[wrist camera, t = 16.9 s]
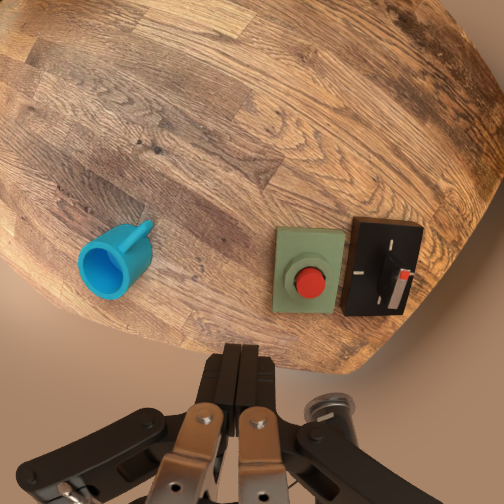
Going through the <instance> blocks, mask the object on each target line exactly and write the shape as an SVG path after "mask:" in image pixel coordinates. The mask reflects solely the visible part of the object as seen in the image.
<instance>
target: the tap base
mask: <svg viewBox="0 0 504 504" xmlns="http://www.w3.org/2000/svg"><path fill="white" fill-rule="evenodd" d="M423 229H424V227H422V226H421V225H419V224H417V223H415V222H411V221H401V220H390V219H379V218H367V217H354V218H353V226H352V234H351V241H350V249H349V255H348V262H347V268H346V274H345V280H344V286H343V292H342V297H341V302H340V308H341V310H342V312H343V315H344V316H387V315H403V313H404V309H405V306H406V302H407V299H408V295H409V292H410V288H411V284H412V280H413V276H414V272H415V268H416V264H417V259H418V255H419V250H420V245H421V240H422V235H423ZM386 255H393V256H396V257H397V258H398V259H399V260H400V261H401V262H402V263H403V264H404V265H405V266H406V267H407V268H408V269H409V270H410V274H409V277H408V280H407V283H406V286H405V289H404V291H403V294H402V297H401V300H400V303H399V306H398V308H397V309H390V308H387V306H386V305H385V303H384V302H383V300H382V299H381V297H380V296H379V294H378V293H377V292H376V288H377V285H378V282H379V278H380V275H381V271H382V268H383V264H384V261H385V257H386Z"/></svg>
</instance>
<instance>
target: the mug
mask: <svg viewBox="0 0 504 504" xmlns="http://www.w3.org/2000/svg"><path fill="white" fill-rule="evenodd" d="M152 228H153V222H152V221H151V220H146V221H145V222H143V223H142V224H141V225H139V226H138V227H135V226H133V225H130V224H122V225H119V226H116V227H114V228H113V229H111V230H109V231H107V232H106V233H104V234H102V235H101V236H99V237H97V238H96V239H94V240H93V241H91V242H89V243H88V244H86V245H85V246H84V247H83V248H82V250H81V252H80V254H79V258H78V268H79V273H80V275H81V278H82V280H83V282H84V283H85V285H86V286H87V287H88V289H89V290H90V291H92V292H93V293H94V294H95V295H97V296H99V297H101V298H103V299H109V300H112V299H118V298H119V297H121V296H122V295H124V294H125V293H126V291H127V290H128V289H129V288H130V287H131V286H132V285H133V284H134V282H135V281H136V280H137V279H138V278H139V277H140V276H141V275H142V274H143V273H144V272H145V270H146V269H147V268H148V266H149V265H150V264H151V260H152V247H151V244H150V241H149V239H148V238H147V234H148V233H149V232H150V231H151V230H152Z"/></svg>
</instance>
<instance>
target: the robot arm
mask: <svg viewBox="0 0 504 504" xmlns="http://www.w3.org/2000/svg"><path fill="white" fill-rule="evenodd" d="M258 348H259V345H245V344H243V345H241V344H228V343H225V346H224V351H223V354H214V353H213V354H212V355H211V356H210V357H209V358H208V359H207V360H206V364H205V367H204V371H203V375H202V379H201V382H200V386H199V390H198V394H197V398H196V401H195V404H194V405H193V406H192V407H190V408H189V409H188V411H187V412H185V413H183V414H179V415H171V416H164V415H163V414H162V413H161V412H160V411H158V410H157V409H154V408H142V409H139V410H137V411H135V412H133V413H131V414H129V415H128V416H126V417H124V418H122V419H120V420H118V421H116V422H114V423H112V424H110V425H108V426H106V427H104V428H102V429H100V430H98V431H96V432H94V433H92V434H90V435H88V436H85V437H83V438H82V439H79V440H77V441H75V442H72V443H70V444H68V445H66V446H64V447H61V448H59V449H57V450H54V451H52V452H50V453H47V454H45V455H42V456H40V457H37V458H35V459H32V460H30V461H27V462H24V463H23V464H21V465H20V466H19V467H18V469H17V471H16V480H17V483H18V484H19V486H20V487H21V488H22V489H23V490H24V491H26V492H27V493H28V494H30V495H31V496H32V497H33V498H34V499H35V500H36V501H37V502H38V504H103V503H105V502H107V501H109V500H111V499H113V498H115V497H117V496H119V495H121V494H123V493H125V492H127V491H128V490H130V489H132V488H134V487H136V486H138V485H139V484H141V483H143V482H145V481H146V480H148V479H150V478H151V477H153V476H155V475H156V476H155V479H154V481H153V484H152V486H151V489H150V491H149V494H148V495H147V496H144V497H141V498H138V499H136V500H134V501H132V502H131V503H129V504H220V503H216V500H217V492H218V485H219V480H220V476H221V471H222V468H223V464H224V459H225V455H226V449H227V445H228V438H229V436H230V437H234V435H235V426H236V437H239V466H238V467H239V468H238V470H239V471H238V484H239V487H238V488H239V489H238V490H239V491H238V492H239V493H238V494H239V502H234V503H225V504H290V502H289V493H288V489H289V488H290V487H292V486H293V485H294V484H296V483H297V482H299V483H300V484H301V485H302V486H303V487H304V488H305V489H307V490H308V491H309V492H310V493H311V494H312V495H313V496H315V504H443V503H442V502H441V501H439V500H437V499H435V498H434V497H432V496H430V495H428V494H427V493H425V492H423V491H422V490H420V489H418V488H417V487H415V486H414V485H412V484H411V483H409V482H407V481H406V480H404V479H403V478H401V477H400V476H398V475H397V474H395V473H393V472H392V471H391V470H389V469H387V468H386V467H385V466H383V465H382V464H380V463H379V462H378V461H376V460H375V459H373V458H372V457H370V456H369V455H368V454H366V453H365V452H363V451H362V450H361V449H359V445H358V440H357V436H356V432H355V428H354V424H353V419H352V416H351V410H350V407H349V405H348V404H346V403H344V402H328V403H325V404H322V405H320V406H318V407H317V408H315V409H314V410H313V411H312V412H311V414H310V421H311V422H309V423H306V424H304V425H303V426H298V425H295V424H291V423H288V422H286V421H284V420H282V419H281V418H280V417H279V415H278V414H277V412H276V404H275V364H274V363H273V361H272V359H271V358H270V357H263V356H258ZM286 471H288V472H289V473H290V475H291V476H292V477H293V478H295V479H296V480H297V481H295V482H294V483H293V484H291V485H290V486H289V487H288V484H287V477H286Z"/></svg>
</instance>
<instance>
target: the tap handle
mask: <svg viewBox="0 0 504 504" xmlns="http://www.w3.org/2000/svg"><path fill="white" fill-rule="evenodd" d="M409 274H410V270H409V269H408V268H407V267H406V266H405V265H404V264H403V263H402V262H401V261H400V260H399V259H398V258H397V257H396V256H393V255H386V257H385V261H384V264H383V268H382V271H381V275H380V278H379V282H378V285H377V288H376V292H377V293H378V294H379V296H380V297H381V299H382V300H383V302H384V303H385V305H386V306H387V308H390V309H397V308H398V306H399V303H400V300H401V297H402V294H403V291H404V289H405V286H406V283H407V280H408V277H409Z"/></svg>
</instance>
